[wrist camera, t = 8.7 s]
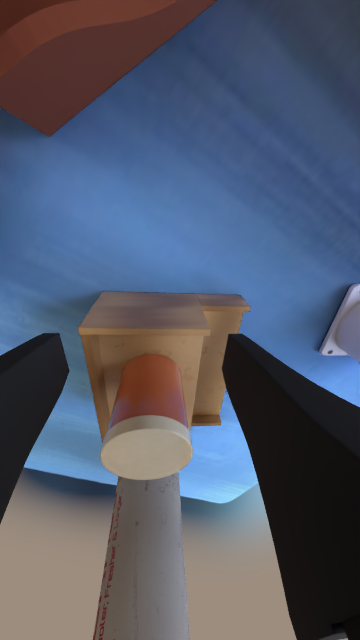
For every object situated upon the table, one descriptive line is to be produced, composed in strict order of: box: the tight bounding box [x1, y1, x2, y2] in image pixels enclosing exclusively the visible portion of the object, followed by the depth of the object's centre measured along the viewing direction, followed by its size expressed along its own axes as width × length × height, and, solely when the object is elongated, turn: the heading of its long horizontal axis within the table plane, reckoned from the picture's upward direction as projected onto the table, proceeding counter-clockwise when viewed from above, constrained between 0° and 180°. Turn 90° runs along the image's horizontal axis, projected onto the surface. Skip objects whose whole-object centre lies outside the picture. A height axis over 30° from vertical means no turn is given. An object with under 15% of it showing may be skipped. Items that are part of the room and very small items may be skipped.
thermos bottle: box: [93, 472, 189, 640], centre depth 18 cm, size 8×8×28 cm
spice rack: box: [78, 291, 251, 443], centre depth 19 cm, size 12×15×6 cm
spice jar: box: [100, 354, 193, 480], centre depth 14 cm, size 5×5×6 cm
